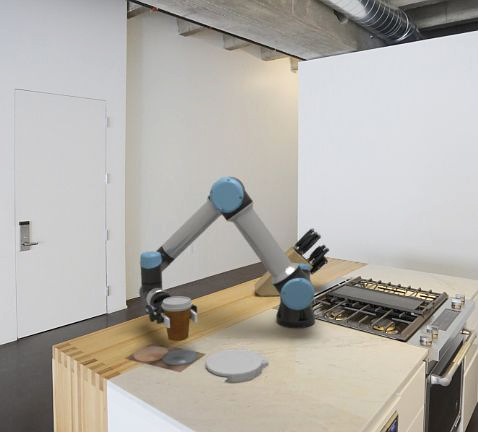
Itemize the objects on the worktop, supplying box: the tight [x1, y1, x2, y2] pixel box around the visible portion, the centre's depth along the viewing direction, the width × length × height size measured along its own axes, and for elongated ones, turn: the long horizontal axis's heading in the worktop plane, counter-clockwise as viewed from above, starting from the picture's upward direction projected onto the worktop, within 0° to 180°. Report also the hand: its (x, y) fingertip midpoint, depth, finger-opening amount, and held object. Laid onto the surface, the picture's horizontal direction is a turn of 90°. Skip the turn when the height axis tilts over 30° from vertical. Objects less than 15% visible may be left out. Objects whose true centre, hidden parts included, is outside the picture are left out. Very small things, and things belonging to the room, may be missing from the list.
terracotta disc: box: [133, 346, 168, 362], centre depth 142 cm, size 11×11×1 cm
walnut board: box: [123, 342, 207, 373], centre depth 140 cm, size 22×14×2 cm, turn 61°
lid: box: [205, 348, 269, 383], centre depth 134 cm, size 17×20×3 cm
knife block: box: [254, 227, 330, 297], centre depth 210 cm, size 11×35×31 cm, turn 89°
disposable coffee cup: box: [161, 295, 193, 342], centre depth 138 cm, size 10×10×12 cm
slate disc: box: [162, 348, 197, 366], centre depth 139 cm, size 11×11×1 cm
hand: (182, 320), depth 133 cm, fingers closed on disposable coffee cup, 8 cm apart
